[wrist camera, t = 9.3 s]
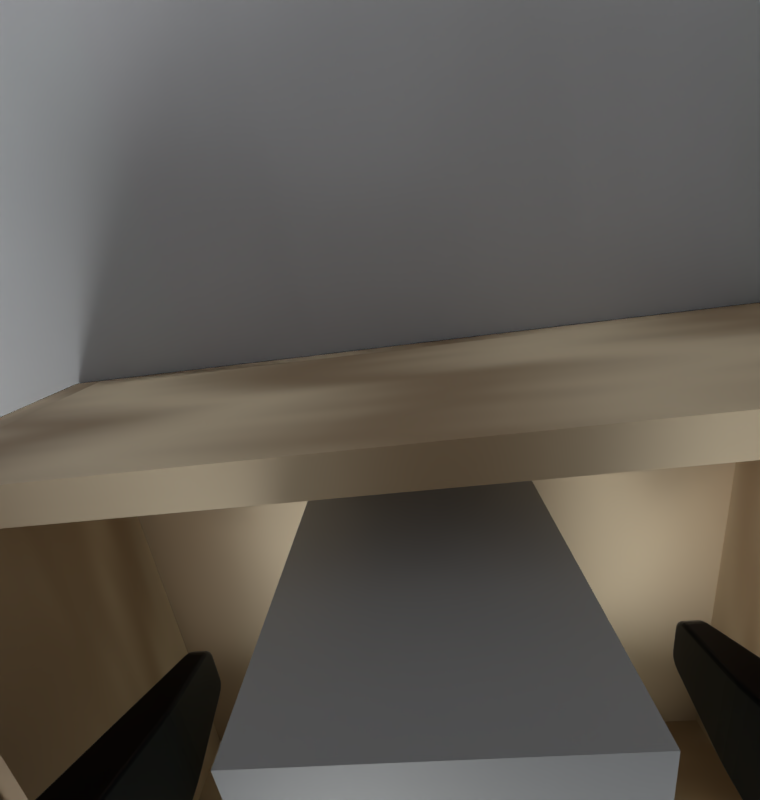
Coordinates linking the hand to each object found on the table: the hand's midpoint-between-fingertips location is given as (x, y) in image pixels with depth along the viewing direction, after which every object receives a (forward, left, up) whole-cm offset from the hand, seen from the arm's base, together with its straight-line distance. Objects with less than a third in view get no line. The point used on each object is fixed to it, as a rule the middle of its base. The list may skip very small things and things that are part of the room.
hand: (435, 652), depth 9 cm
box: (0, -1, -3) cm, 3 cm away
